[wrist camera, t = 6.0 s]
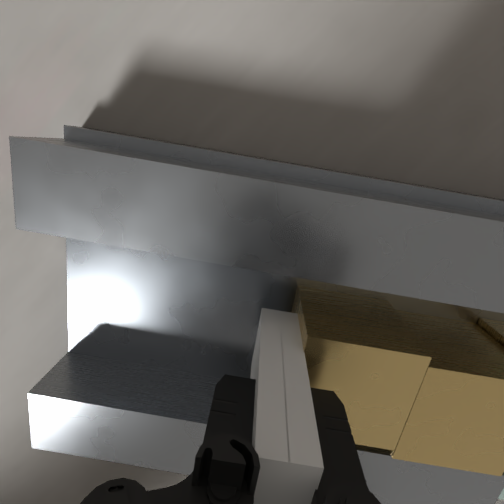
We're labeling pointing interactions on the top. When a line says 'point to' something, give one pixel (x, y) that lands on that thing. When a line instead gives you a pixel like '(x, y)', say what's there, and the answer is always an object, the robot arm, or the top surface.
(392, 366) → the tan wooden cube
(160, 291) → the slot bed
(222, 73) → the top surface
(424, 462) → the tan cube
